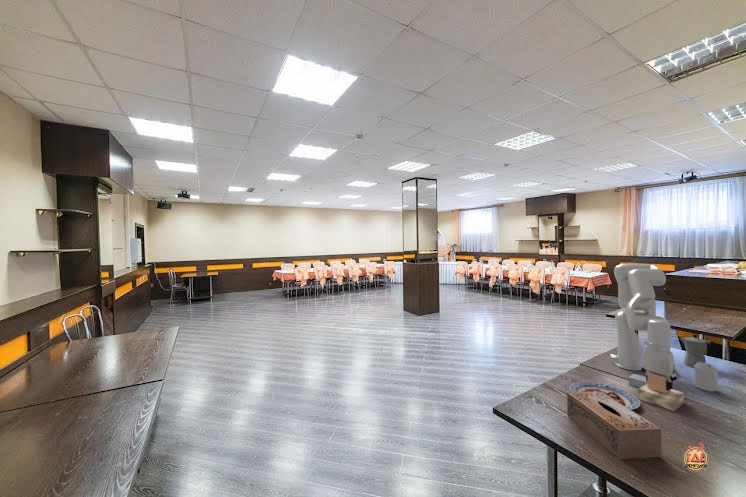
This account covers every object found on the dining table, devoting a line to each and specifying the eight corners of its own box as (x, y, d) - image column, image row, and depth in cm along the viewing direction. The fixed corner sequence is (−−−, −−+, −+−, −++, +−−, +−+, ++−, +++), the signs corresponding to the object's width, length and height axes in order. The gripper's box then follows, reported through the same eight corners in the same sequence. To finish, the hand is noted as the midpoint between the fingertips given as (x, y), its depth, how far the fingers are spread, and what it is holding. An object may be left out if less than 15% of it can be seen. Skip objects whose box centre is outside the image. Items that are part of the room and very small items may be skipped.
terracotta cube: (647, 387, 138) (647, 372, 138) (653, 384, 141) (653, 369, 141) (664, 393, 133) (664, 377, 133) (670, 390, 135) (670, 374, 135)
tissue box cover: (661, 458, 101) (661, 428, 101) (619, 460, 100) (619, 430, 100) (601, 414, 127) (600, 391, 126) (567, 416, 126) (567, 392, 126)
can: (722, 393, 141) (722, 367, 141) (703, 392, 143) (703, 366, 143) (708, 385, 149) (708, 361, 149) (690, 384, 150) (690, 360, 150)
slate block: (628, 384, 152) (628, 377, 152) (633, 381, 156) (633, 373, 156) (646, 390, 146) (646, 382, 146) (651, 386, 150) (651, 378, 150)
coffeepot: (677, 364, 175) (677, 333, 174) (680, 360, 180) (680, 330, 180) (717, 373, 162) (717, 339, 162) (719, 368, 168) (719, 336, 168)
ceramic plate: (641, 397, 140) (641, 391, 140) (638, 422, 121) (638, 414, 121) (575, 381, 157) (575, 375, 157) (564, 400, 139) (564, 394, 139)
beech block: (638, 399, 138) (638, 388, 138) (648, 392, 144) (648, 382, 144) (674, 412, 128) (674, 400, 128) (683, 403, 134) (683, 392, 134)
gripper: (631, 343, 142) (631, 381, 143) (681, 354, 127) (681, 397, 127) (639, 340, 146) (639, 377, 146) (688, 351, 130) (688, 392, 131)
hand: (659, 386), depth 137 cm, fingers closed on terracotta cube, 6 cm apart
